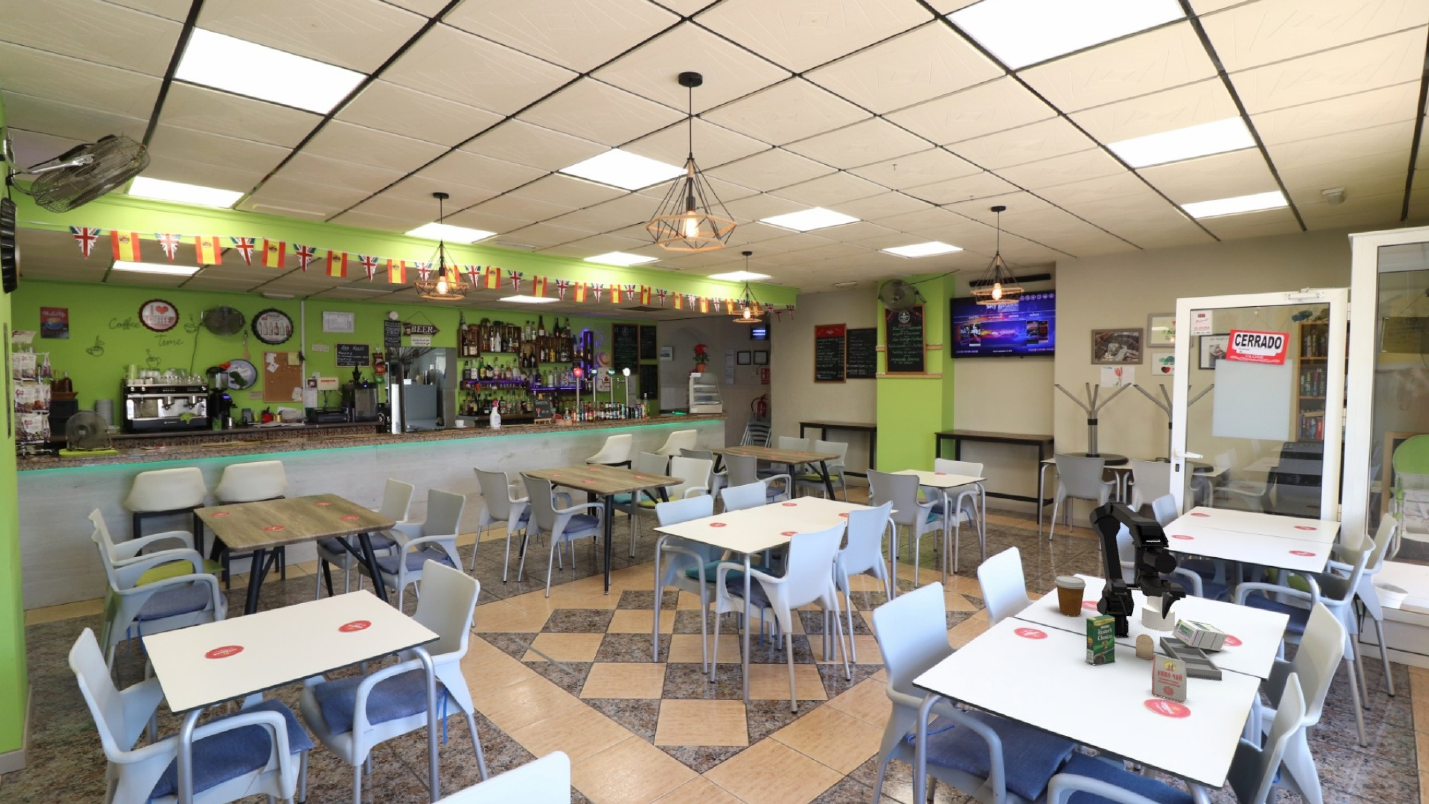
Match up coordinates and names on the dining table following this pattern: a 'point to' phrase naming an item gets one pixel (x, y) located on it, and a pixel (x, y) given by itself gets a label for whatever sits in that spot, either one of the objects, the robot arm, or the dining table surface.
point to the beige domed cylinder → (1144, 647)
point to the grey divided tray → (1191, 659)
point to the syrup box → (1199, 634)
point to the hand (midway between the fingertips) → (1145, 617)
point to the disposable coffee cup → (1070, 594)
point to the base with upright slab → (1157, 615)
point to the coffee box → (1100, 639)
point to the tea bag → (1169, 678)
